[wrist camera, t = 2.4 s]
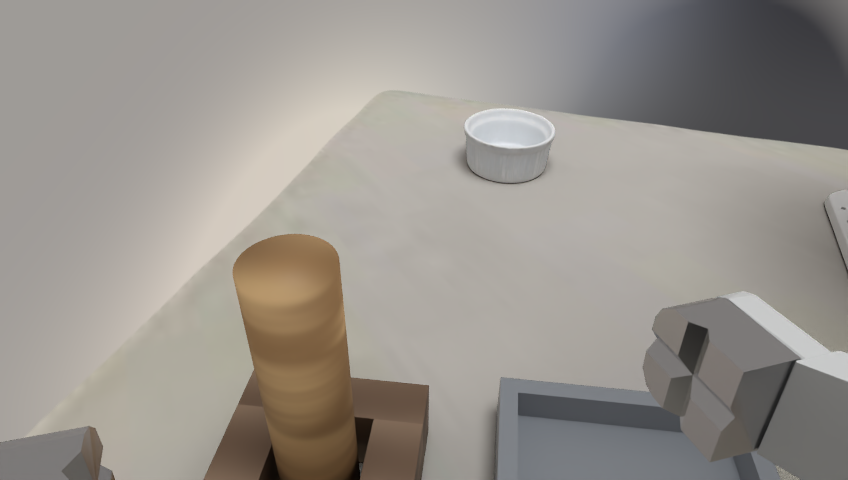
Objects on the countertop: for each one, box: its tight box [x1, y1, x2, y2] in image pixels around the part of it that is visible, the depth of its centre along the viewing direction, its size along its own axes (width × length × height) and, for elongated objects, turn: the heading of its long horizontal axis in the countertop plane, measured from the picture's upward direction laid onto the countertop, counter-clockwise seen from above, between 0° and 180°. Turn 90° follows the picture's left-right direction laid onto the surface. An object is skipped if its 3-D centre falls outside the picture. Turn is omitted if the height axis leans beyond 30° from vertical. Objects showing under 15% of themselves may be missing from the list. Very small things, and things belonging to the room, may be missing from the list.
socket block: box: [204, 369, 429, 480], centre depth 32 cm, size 10×10×4 cm
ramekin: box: [464, 108, 555, 183], centre depth 61 cm, size 9×9×4 cm
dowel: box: [233, 234, 360, 480], centre depth 28 cm, size 4×4×16 cm
